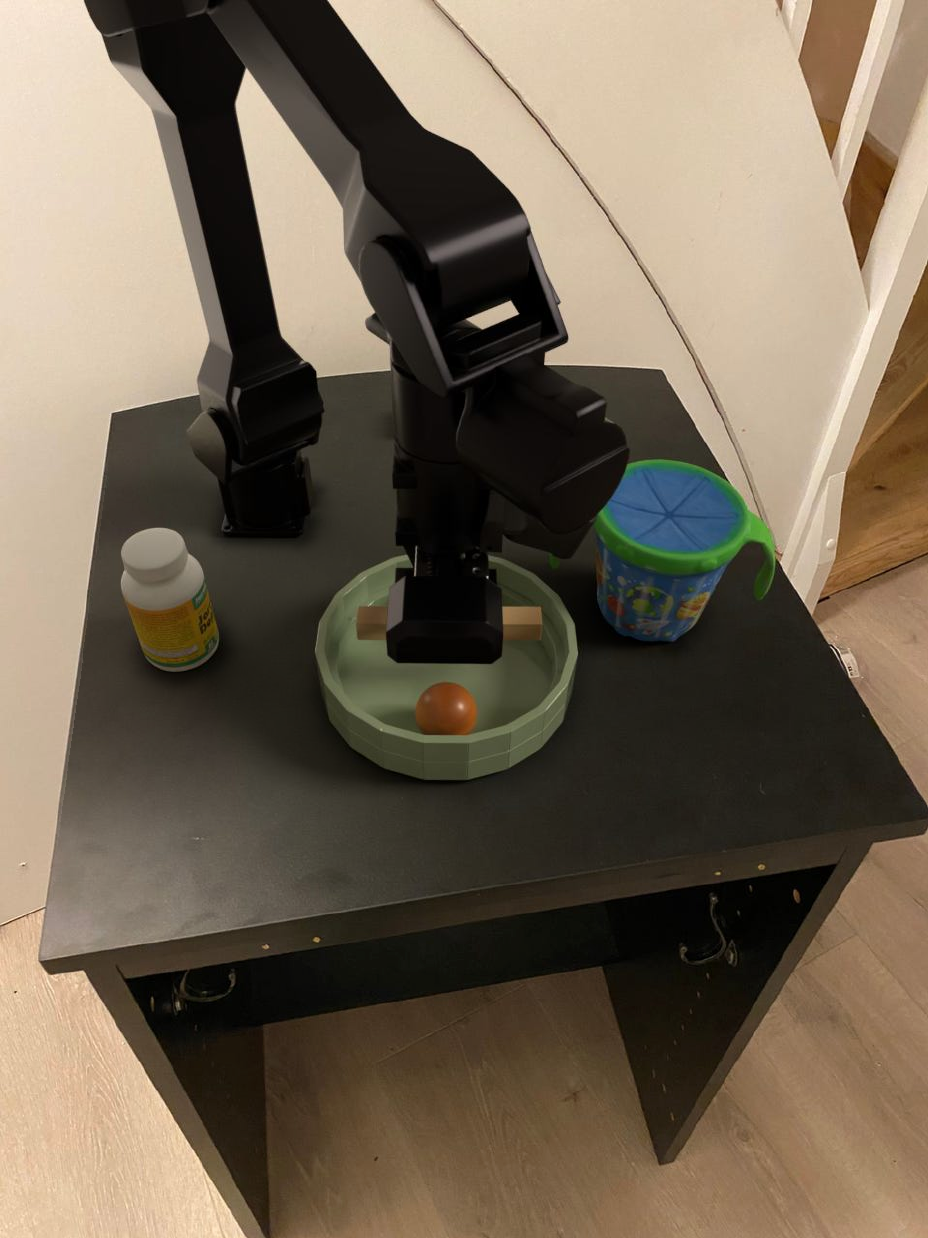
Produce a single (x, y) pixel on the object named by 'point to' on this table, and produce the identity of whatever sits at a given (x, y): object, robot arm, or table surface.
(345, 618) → the bowl
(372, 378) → the table surface
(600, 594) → the snack cup
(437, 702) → the ball tangerine
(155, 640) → the supplement bottle
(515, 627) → the wooden bar
